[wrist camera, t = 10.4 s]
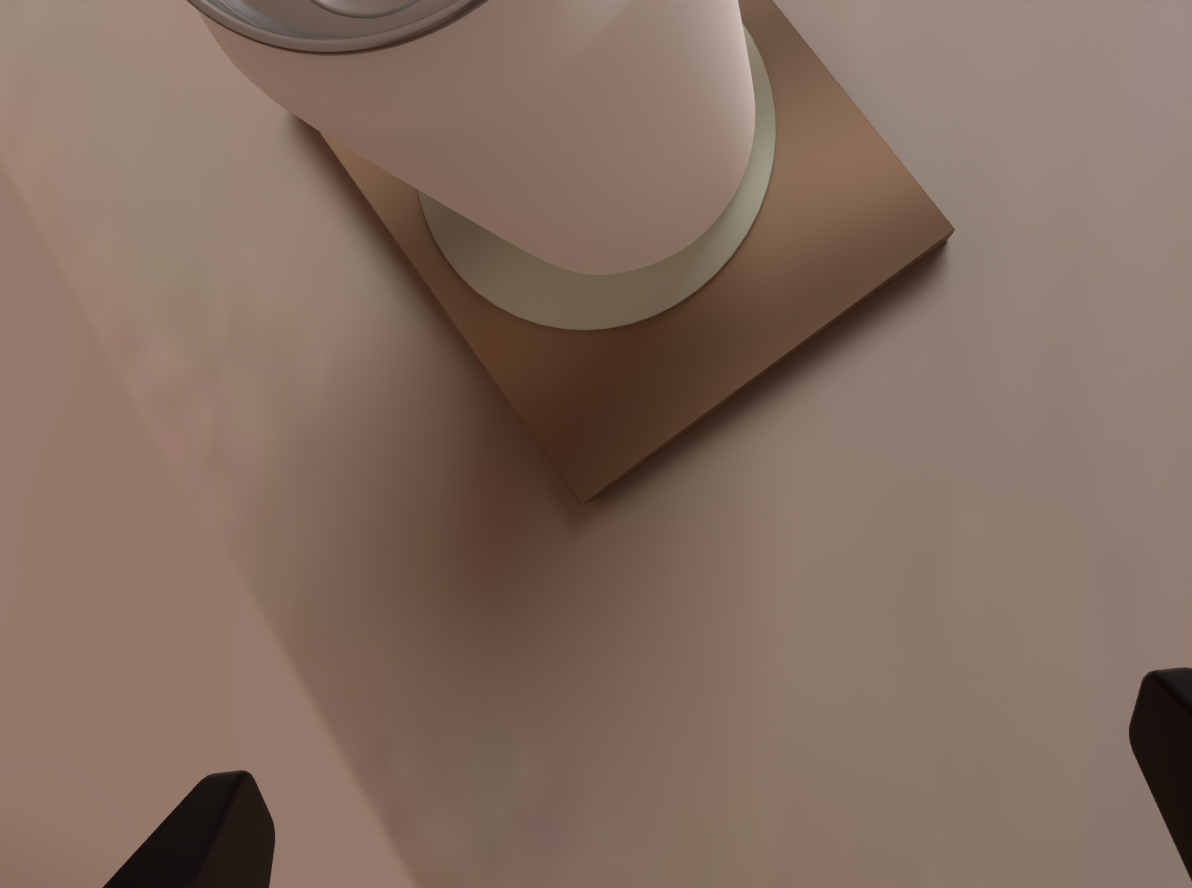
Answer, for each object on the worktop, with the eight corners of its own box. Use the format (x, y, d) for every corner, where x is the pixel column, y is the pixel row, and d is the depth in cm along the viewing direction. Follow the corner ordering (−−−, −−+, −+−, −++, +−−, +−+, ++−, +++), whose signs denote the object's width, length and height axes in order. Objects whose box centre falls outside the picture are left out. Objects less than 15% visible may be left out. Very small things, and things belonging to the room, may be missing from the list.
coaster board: (948, 238, 20) (956, 227, 19) (591, 500, 22) (578, 504, 21) (606, -193, 22) (594, -227, 21) (302, 90, 24) (275, 72, 23)
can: (492, 297, 21) (102, 149, 10) (462, 21, 21) (37, -458, 10) (773, 255, 20) (712, 19, 8) (741, -42, 20) (634, -700, 8)
